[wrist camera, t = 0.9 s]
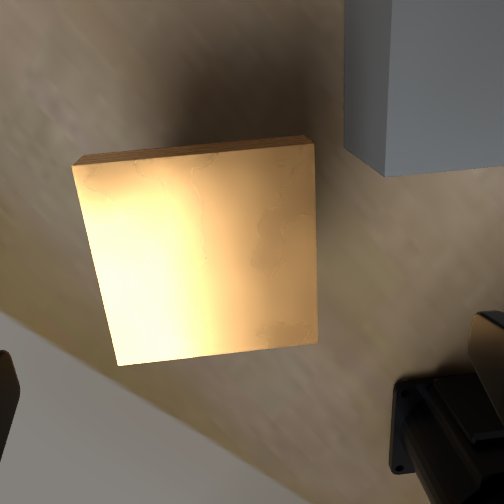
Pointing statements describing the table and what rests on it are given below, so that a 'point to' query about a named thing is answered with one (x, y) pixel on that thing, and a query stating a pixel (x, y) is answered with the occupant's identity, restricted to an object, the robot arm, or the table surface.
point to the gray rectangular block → (424, 84)
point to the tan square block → (204, 246)
